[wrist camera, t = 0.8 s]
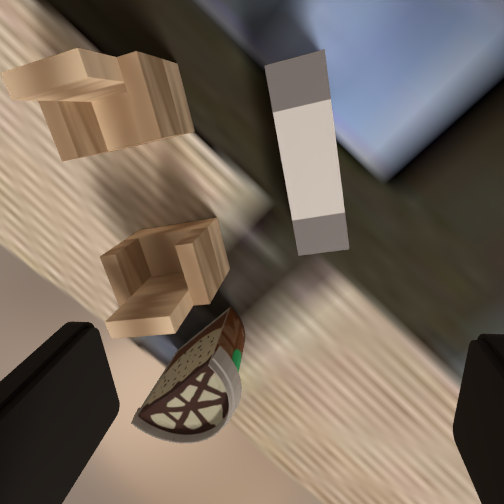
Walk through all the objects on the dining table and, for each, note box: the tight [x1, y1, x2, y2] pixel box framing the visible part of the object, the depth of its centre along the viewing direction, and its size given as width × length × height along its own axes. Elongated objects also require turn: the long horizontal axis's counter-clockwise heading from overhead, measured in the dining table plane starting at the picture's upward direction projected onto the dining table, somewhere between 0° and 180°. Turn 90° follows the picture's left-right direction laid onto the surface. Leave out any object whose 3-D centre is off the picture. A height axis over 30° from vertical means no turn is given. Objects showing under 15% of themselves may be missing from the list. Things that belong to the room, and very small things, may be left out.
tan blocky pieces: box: [1, 48, 230, 338], centre depth 28 cm, size 8×19×11 cm, turn 13°
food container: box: [131, 307, 245, 443], centre depth 35 cm, size 12×6×10 cm, turn 136°
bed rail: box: [265, 49, 349, 255], centre depth 27 cm, size 4×14×5 cm, turn 13°
